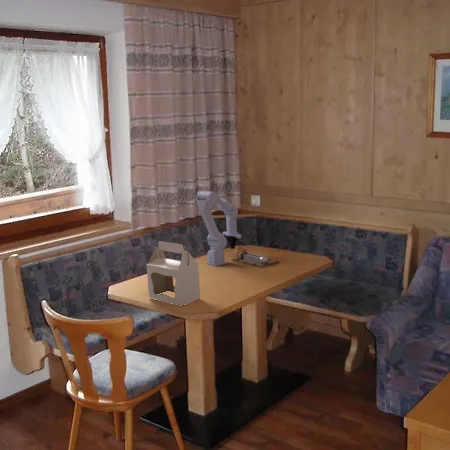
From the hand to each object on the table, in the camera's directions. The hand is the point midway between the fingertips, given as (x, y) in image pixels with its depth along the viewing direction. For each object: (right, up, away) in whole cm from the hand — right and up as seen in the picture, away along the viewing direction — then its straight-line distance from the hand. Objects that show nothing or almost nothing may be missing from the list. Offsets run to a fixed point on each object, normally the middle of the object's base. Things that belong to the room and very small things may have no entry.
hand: (232, 248), depth 383 cm
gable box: (-29, -22, -70) cm, 79 cm away
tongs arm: (+12, -6, -11) cm, 17 cm away
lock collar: (+5, -5, -4) cm, 8 cm away
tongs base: (+12, -7, -13) cm, 19 cm away
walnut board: (+13, -7, -10) cm, 18 cm away
